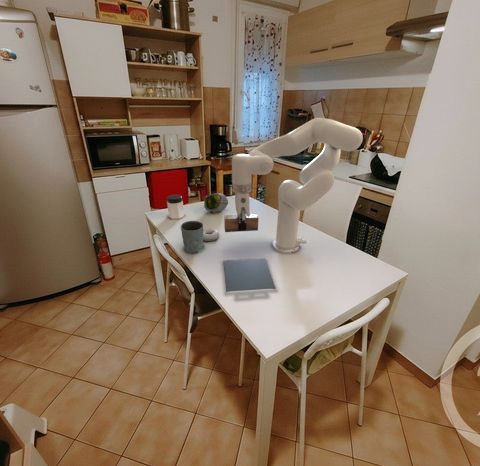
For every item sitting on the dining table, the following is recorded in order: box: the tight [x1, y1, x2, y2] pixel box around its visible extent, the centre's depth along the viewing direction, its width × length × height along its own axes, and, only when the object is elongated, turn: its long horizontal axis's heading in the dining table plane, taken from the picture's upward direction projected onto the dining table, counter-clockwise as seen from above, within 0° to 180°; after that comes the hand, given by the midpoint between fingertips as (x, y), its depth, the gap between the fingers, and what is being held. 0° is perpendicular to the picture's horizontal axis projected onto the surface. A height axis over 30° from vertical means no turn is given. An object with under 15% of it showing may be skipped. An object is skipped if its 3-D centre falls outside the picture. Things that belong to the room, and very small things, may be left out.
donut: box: [203, 227, 220, 242], centre depth 130 cm, size 10×4×10 cm
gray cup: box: [180, 220, 204, 254], centre depth 119 cm, size 10×10×12 cm
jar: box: [166, 194, 185, 220], centre depth 151 cm, size 9×8×12 cm
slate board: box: [223, 258, 276, 292], centre depth 103 cm, size 18×20×1 cm
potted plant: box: [203, 192, 229, 214], centre depth 158 cm, size 12×13×15 cm
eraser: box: [223, 213, 259, 233], centre depth 111 cm, size 14×4×6 cm, turn 97°
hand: (241, 227), depth 112 cm, fingers closed on eraser, 4 cm apart
